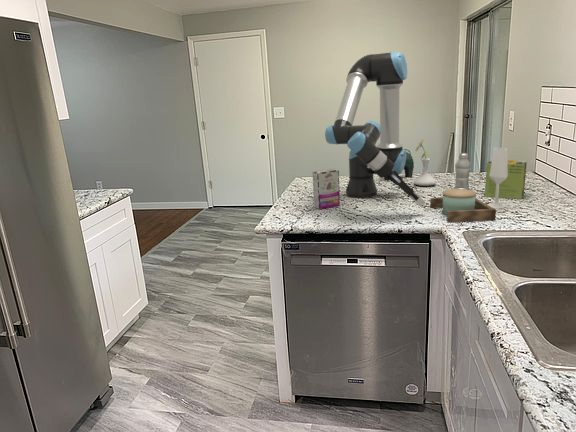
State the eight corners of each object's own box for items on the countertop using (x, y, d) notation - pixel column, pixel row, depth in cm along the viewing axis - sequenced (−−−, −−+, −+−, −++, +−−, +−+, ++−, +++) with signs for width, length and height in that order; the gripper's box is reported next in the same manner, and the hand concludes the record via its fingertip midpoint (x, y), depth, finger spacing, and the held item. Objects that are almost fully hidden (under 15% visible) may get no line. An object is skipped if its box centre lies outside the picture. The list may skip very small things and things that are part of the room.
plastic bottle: (470, 198, 197) (473, 154, 192) (454, 198, 199) (456, 154, 194) (467, 195, 204) (470, 152, 198) (452, 195, 205) (454, 152, 200)
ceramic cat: (386, 181, 245) (386, 145, 240) (379, 179, 251) (379, 144, 245) (415, 177, 252) (416, 142, 247) (407, 175, 258) (408, 141, 253)
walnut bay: (448, 222, 165) (448, 211, 164) (430, 207, 187) (430, 198, 186) (495, 220, 164) (496, 209, 163) (471, 205, 186) (472, 196, 185)
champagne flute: (483, 205, 185) (487, 148, 178) (495, 203, 187) (499, 147, 181) (496, 209, 179) (501, 150, 172) (508, 206, 181) (513, 148, 175)
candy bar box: (334, 203, 201) (333, 168, 197) (340, 205, 197) (339, 169, 193) (313, 207, 196) (311, 171, 192) (319, 209, 192) (317, 172, 188)
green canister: (437, 215, 175) (438, 193, 172) (448, 208, 184) (449, 188, 181) (468, 219, 167) (470, 197, 165) (478, 212, 176) (480, 190, 174)
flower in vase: (420, 182, 238) (421, 135, 232) (440, 184, 230) (442, 136, 224) (407, 186, 229) (408, 138, 223) (427, 188, 221) (429, 138, 215)
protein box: (522, 199, 192) (525, 164, 188) (484, 196, 200) (486, 162, 196) (524, 194, 201) (527, 160, 197) (487, 192, 209) (490, 159, 205)
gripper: (370, 168, 178) (411, 206, 182) (377, 174, 166) (420, 215, 170) (384, 155, 177) (424, 193, 181) (391, 159, 164) (434, 201, 168)
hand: (422, 203), depth 175 cm, fingers closed
